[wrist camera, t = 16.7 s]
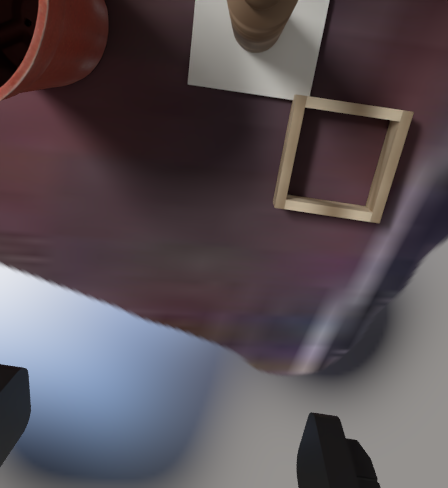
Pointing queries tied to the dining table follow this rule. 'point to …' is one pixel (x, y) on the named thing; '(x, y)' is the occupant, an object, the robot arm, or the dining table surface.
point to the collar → (382, 174)
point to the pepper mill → (259, 22)
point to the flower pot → (49, 43)
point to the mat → (256, 64)
